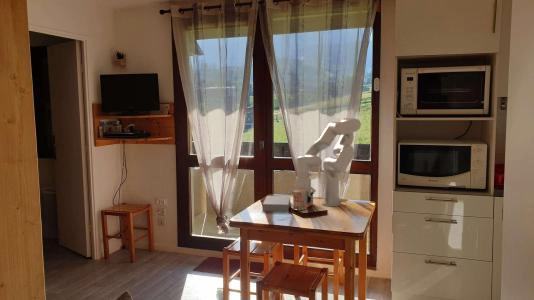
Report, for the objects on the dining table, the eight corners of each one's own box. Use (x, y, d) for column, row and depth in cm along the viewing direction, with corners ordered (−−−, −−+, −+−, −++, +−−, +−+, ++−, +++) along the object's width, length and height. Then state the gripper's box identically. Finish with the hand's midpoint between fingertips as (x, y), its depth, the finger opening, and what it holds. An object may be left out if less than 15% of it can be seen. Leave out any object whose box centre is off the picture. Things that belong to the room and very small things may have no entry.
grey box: (290, 203, 293) (290, 196, 292) (288, 212, 267) (288, 204, 266) (267, 202, 294) (267, 195, 294) (262, 212, 269) (262, 204, 268)
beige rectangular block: (304, 203, 289) (304, 185, 288) (313, 203, 287) (313, 185, 285) (293, 210, 270) (293, 191, 268) (302, 211, 267) (302, 191, 266)
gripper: (316, 174, 278) (316, 201, 279) (290, 174, 281) (290, 200, 282) (316, 176, 270) (316, 204, 272) (288, 176, 273) (289, 203, 275)
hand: (303, 202), depth 277 cm, fingers closed on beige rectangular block, 7 cm apart
